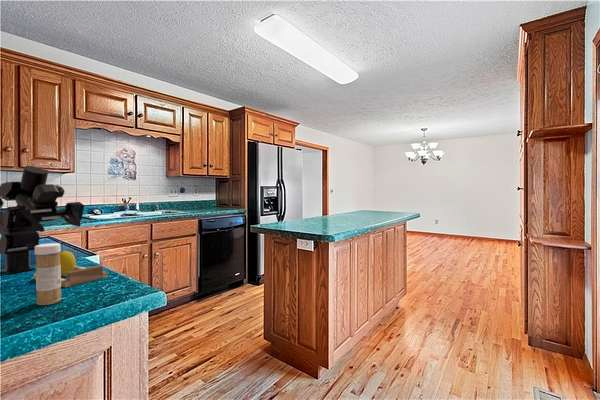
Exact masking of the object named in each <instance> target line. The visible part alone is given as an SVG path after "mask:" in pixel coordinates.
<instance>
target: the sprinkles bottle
mask: <svg viewBox="0 0 600 400" xmlns="http://www.w3.org/2000/svg"><path fill="white" fill-rule="evenodd" d="M61 251H62V250H61V244H60V243H59V242H58V243H56V242H54V243H53V242H51V243H42V244H38V245H37V246H35V250H34V255H35V271H36V272H35V274H36V280H35V283H36V285H35V288H36V305H38V306H47V305H48V306H49V305H53V304H57V303H59V302H61V301H62V289H61V288H62V286H61V278H62V275H61V265H60V252H61Z"/></svg>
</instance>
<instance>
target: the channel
mask: <svg viewBox="0 0 600 400" xmlns="http://www.w3.org/2000/svg"><path fill="white" fill-rule="evenodd" d="M103 267H104V266H103V265H94V266H90V267H83V266H79V265H75V268H74V270H73V271H70V272H66V273H67V275H66V279H65V278H62V277H61V288H62V287H63V288H68V287H69V288H70V287H72V286H77V285H81V284H85V283H88V282H89V283H90V282H93V281H96V280H101V279H104V278H108V271H104V269H103ZM33 280H35V281H36V273H33Z"/></svg>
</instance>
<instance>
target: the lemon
mask: <svg viewBox="0 0 600 400" xmlns="http://www.w3.org/2000/svg"><path fill="white" fill-rule="evenodd" d="M60 265H61V277H65V278H66V277H67V273H66V272H70V271H73V270H74V268H75V266H77V263H76V257H75V255H74V254H73V253H72V252H70V251H67V250H65V249H62V250H61V251H60Z"/></svg>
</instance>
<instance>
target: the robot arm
mask: <svg viewBox="0 0 600 400" xmlns="http://www.w3.org/2000/svg"><path fill="white" fill-rule="evenodd" d="M48 175H49V170H48V169H44V168H41V167H36V166H34V165H26V166H25V167H23V170H22V175H21V180H20V181H9V182H8V181H6V182H3V183H1V185H0V235H1V237H0V255H5V268H4V269H1V270H0V271H1V272H2V273H6V274H10V275H11V274H16V273H22V272H26V271H31V270H32V271H33V270H36V266H32V265H31V251H35V246H37V245H40V244H39V243H40V234H39V232H41V233H42V232H44V231H45V227H44V226H43V224H41V223H42V222H48V221H49V222H50V221H54V219H55V220H56V219H63V220H64V221H65V222H67V224H68V225H72V226H74V227H81V224H82V223H81V221H82V220H83V219H82V218H83V215H84V211H85V210H84V209H85V205H84V204H83V203H82V202H80V201H73V202H72V201H71V202H67V203H66V204H65V207H64V209H61V210H60V209H57V208H56V207H58V206H59V205H58V204H59V202H58V201H57V199H58V198H62V197H63V196H64V195H65V189H64V187H62V186H60V185H59V184H56V185H55V184H47V181H48V180H47V179H48ZM3 200H5V201H7V202H9V201H15V203H16V205H15V206H14V205H13V206H8V207H6V208H5V209H4V212H3V211H2V210H1V209H2V207H3V205H4V201H3Z"/></svg>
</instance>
